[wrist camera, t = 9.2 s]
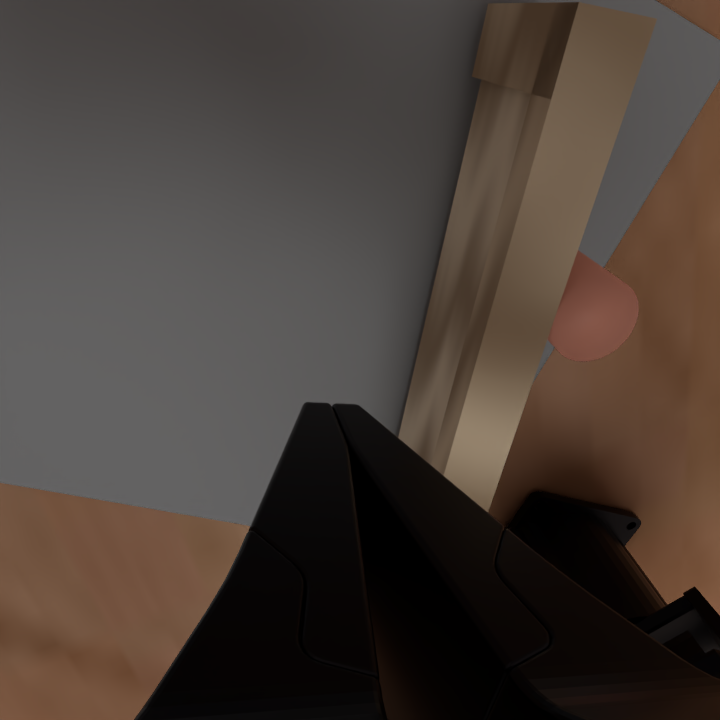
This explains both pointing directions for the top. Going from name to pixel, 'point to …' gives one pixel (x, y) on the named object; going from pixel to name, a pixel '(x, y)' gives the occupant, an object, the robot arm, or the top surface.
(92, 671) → the top surface
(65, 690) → the top surface
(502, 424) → the light wood bar
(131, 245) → the board
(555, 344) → the latch post
